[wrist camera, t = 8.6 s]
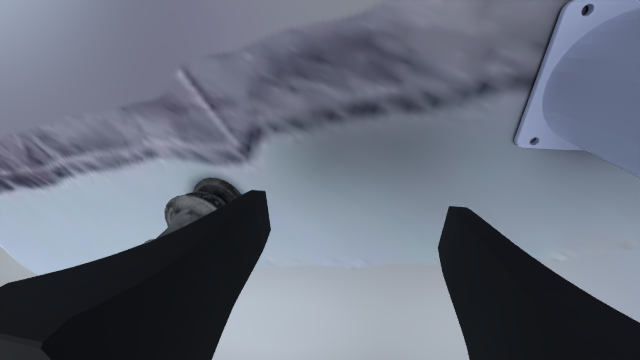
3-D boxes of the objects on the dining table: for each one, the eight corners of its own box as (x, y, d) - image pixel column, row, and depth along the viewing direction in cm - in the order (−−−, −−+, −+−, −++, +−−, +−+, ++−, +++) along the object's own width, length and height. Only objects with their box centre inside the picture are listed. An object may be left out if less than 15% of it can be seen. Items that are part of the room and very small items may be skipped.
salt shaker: (182, 202, 25) (49, 315, 15) (205, 162, 22) (60, 267, 12) (231, 236, 26) (139, 363, 16) (259, 202, 23) (169, 329, 13)
